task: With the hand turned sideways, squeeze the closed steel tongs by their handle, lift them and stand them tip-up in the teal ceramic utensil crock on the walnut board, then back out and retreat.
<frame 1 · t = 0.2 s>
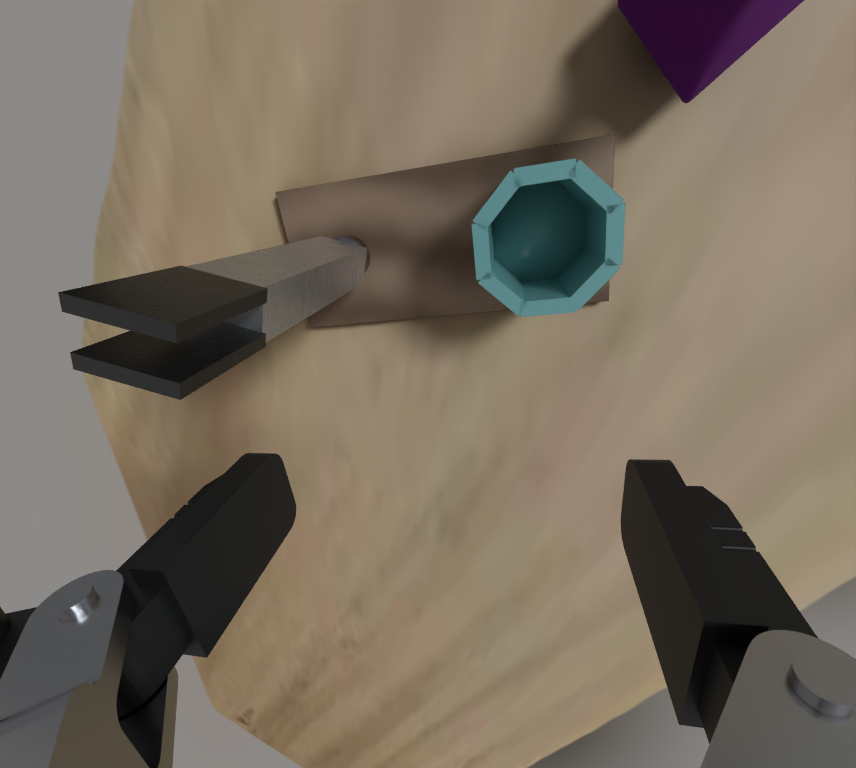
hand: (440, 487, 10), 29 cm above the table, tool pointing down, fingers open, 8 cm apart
perfume bottle: (688, 19, 27), on the table
walnut board: (441, 244, 35), on the table
crock: (537, 233, 33), resting on walnut board
tongs: (350, 257, 36), point 1 cm above the table, touching walnut board
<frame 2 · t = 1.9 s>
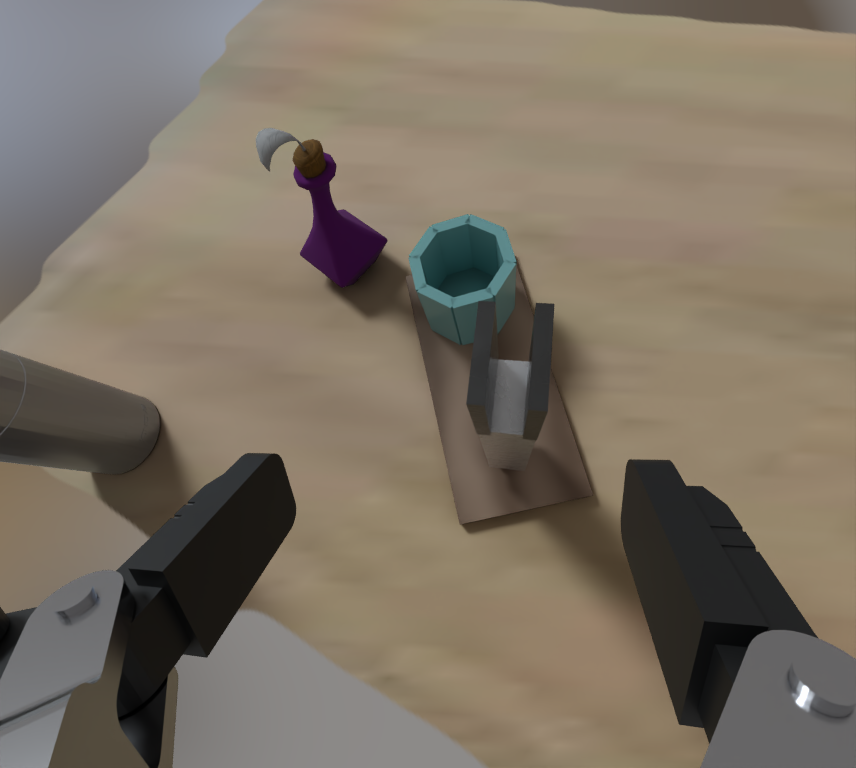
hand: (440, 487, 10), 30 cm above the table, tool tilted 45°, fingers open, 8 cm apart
perfume bottle: (353, 264, 50), on the table
walnut board: (487, 375, 42), on the table
crock: (468, 303, 44), resting on walnut board
tongs: (508, 449, 38), point 1 cm above the table, touching walnut board
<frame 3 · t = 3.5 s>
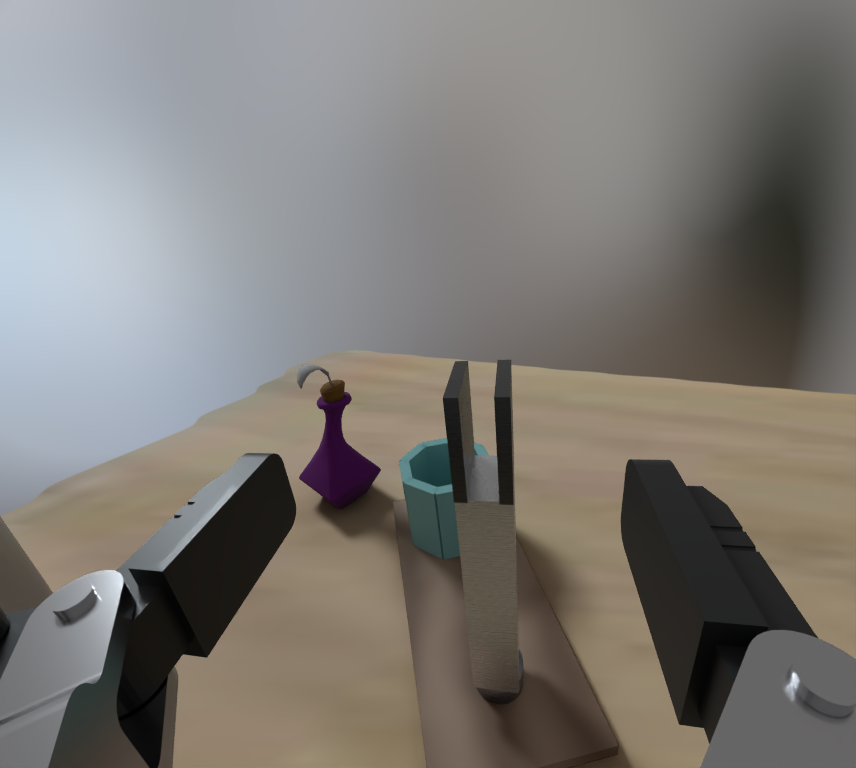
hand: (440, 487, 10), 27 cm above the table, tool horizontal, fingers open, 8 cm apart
perfume bottle: (345, 495, 53), on the table
walnut board: (471, 593, 38), on the table
crock: (451, 523, 45), resting on walnut board
tongs: (498, 677, 30), point 1 cm above the table, touching walnut board
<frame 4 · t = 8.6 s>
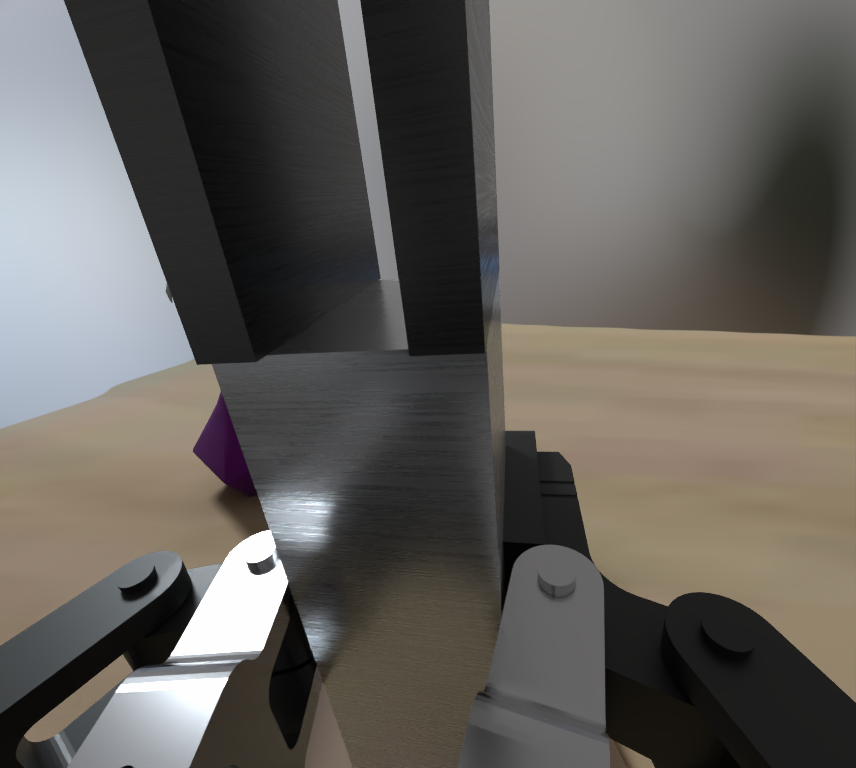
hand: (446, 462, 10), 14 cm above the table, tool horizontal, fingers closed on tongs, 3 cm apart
perfume bottle: (263, 477, 36), on the table
walnut board: (432, 638, 21), on the table
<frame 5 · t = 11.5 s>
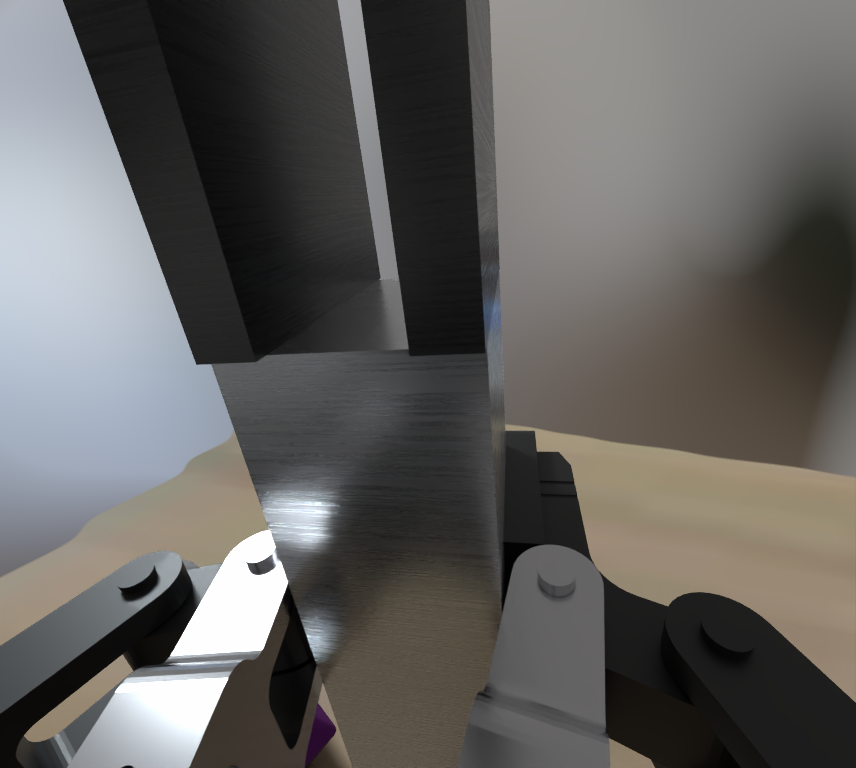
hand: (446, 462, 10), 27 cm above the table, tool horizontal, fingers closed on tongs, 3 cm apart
perfume bottle: (270, 765, 27), on the table
when the fingers open (16 cm above the table, at t = 14.8 s): tongs drops 1 cm, resting on crock.
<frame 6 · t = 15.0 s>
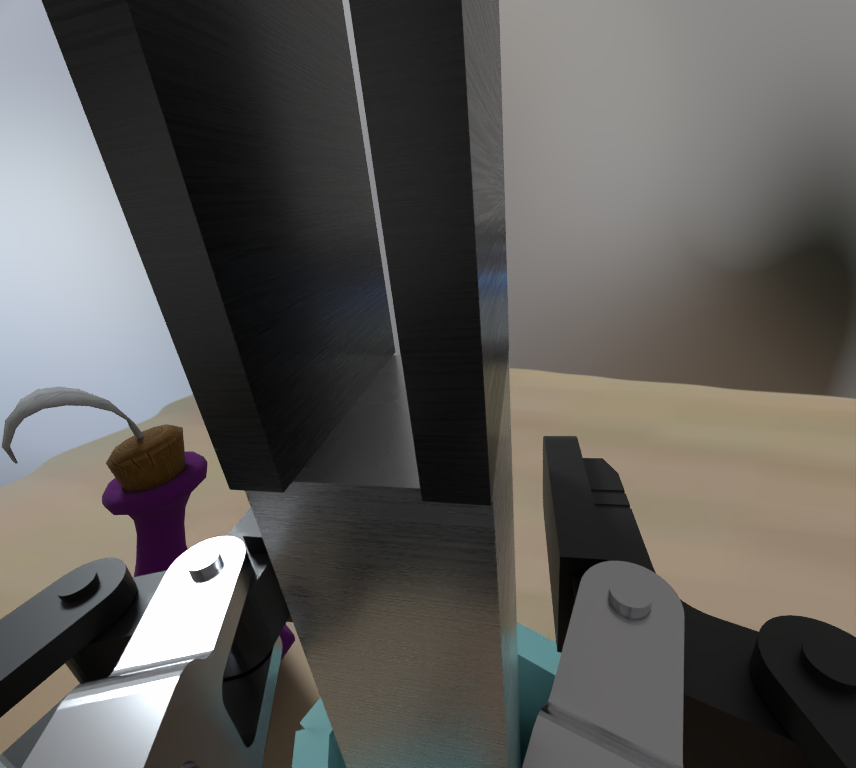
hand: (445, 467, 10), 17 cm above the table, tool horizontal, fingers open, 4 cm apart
perfume bottle: (217, 687, 23), on the table
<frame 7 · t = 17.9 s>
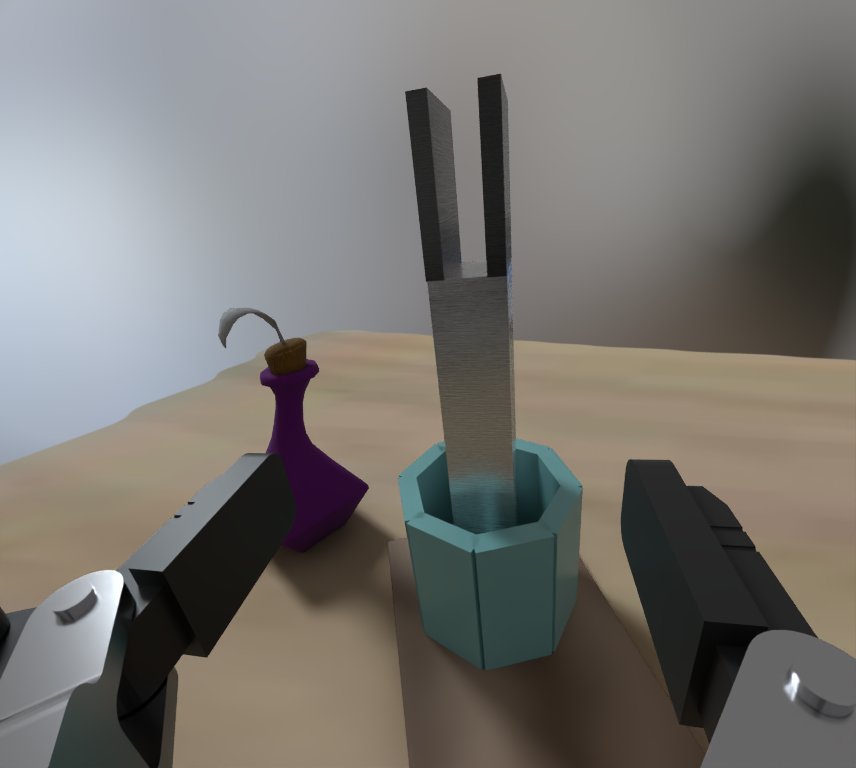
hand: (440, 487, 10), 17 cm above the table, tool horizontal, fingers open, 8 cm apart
perfume bottle: (312, 527, 33), on the table
walnut board: (548, 756, 18), on the table
crock: (492, 588, 25), resting on walnut board
tongs: (492, 577, 24), point 2 cm above the table, touching crock
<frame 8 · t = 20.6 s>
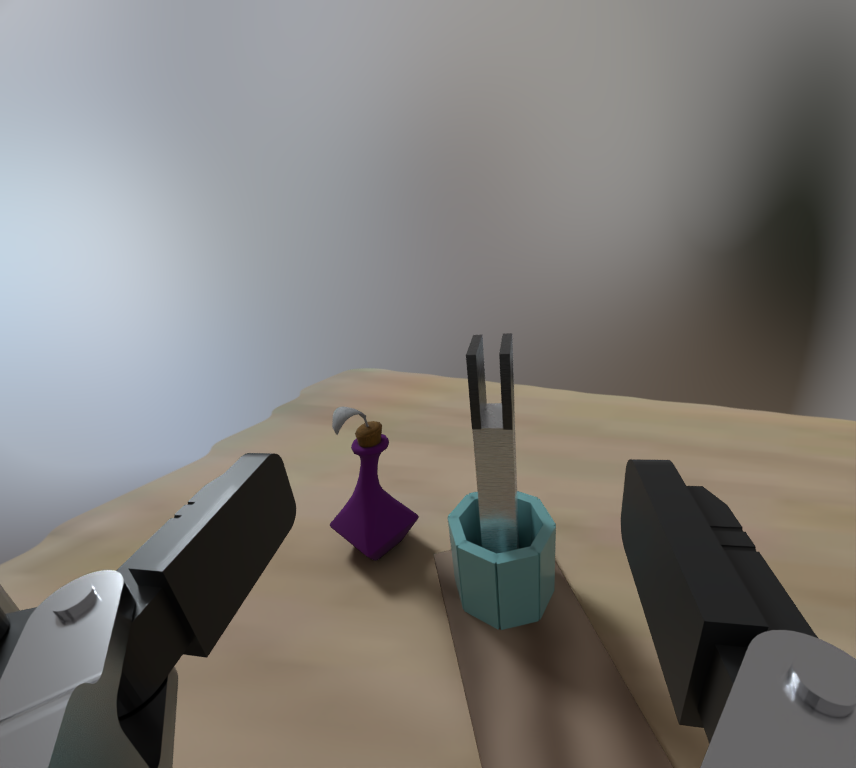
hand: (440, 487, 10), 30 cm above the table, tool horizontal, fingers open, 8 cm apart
perfume bottle: (378, 543, 49), on the table
walnut board: (535, 673, 34), on the table
crock: (503, 583, 40), resting on walnut board
tongs: (503, 577, 40), point 2 cm above the table, touching crock
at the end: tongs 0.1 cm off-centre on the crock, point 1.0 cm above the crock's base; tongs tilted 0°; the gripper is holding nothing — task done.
